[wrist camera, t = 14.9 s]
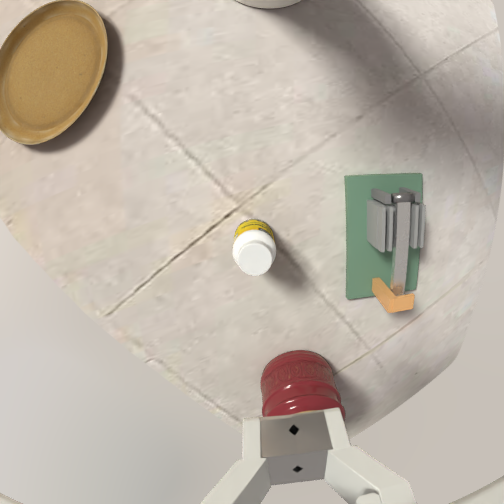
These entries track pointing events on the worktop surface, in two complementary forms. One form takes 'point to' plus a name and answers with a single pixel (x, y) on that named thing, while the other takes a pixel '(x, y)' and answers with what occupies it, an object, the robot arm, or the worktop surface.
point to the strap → (400, 240)
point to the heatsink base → (379, 229)
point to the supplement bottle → (254, 247)
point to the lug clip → (391, 297)
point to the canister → (298, 385)
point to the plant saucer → (50, 70)
